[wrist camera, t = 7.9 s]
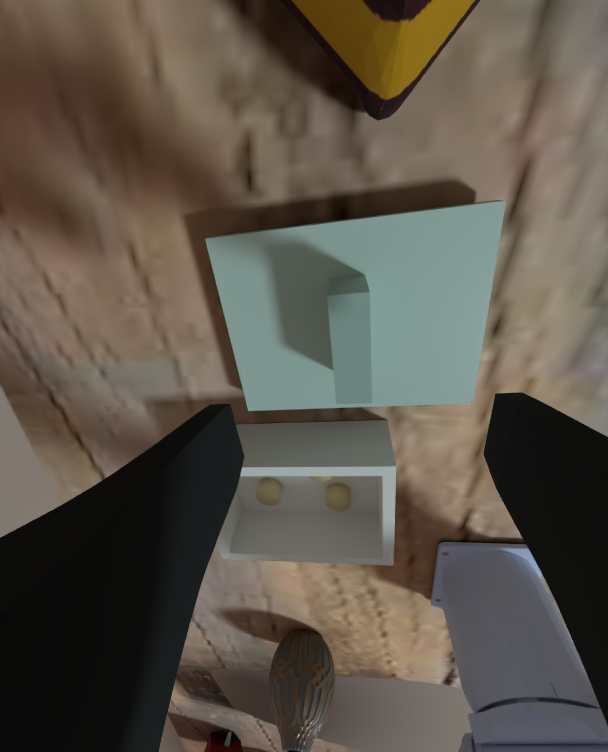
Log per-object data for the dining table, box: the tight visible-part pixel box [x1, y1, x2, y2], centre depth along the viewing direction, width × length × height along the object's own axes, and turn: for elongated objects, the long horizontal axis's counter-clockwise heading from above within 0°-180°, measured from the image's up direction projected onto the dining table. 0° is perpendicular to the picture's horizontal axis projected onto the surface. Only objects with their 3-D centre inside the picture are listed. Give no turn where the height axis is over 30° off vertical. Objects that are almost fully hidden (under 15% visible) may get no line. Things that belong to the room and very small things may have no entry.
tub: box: [216, 420, 396, 566], centre depth 21 cm, size 9×12×4 cm
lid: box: [205, 200, 506, 411], centre depth 15 cm, size 10×13×5 cm
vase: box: [269, 630, 335, 752], centre depth 33 cm, size 7×7×9 cm
